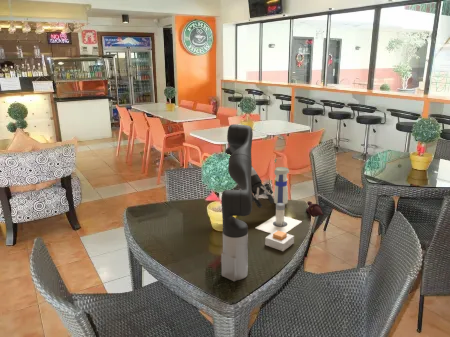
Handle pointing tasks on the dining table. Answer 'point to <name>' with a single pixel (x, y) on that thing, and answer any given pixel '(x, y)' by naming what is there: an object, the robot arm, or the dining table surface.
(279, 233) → the button
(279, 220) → the salt shaker
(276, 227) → the paper
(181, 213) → the dining table surface
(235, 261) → the robot arm
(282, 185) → the water bottle
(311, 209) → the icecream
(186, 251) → the dining table surface
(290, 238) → the button housing
